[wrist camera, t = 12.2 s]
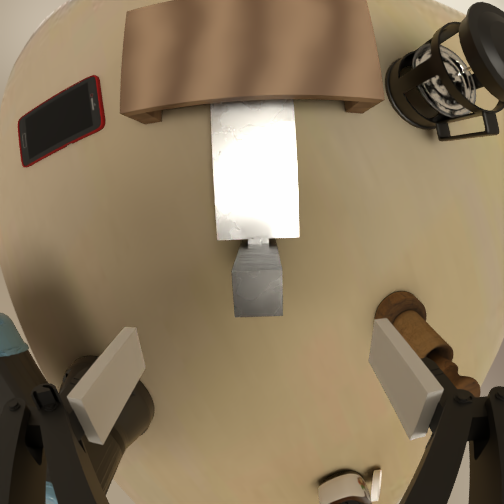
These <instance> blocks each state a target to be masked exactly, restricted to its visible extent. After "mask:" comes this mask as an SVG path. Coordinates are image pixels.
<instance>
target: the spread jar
mask: <svg viewBox="0 0 504 504" xmlns="http://www.w3.org/2000/svg"><path fill="white" fill-rule="evenodd" d="M380 488H381V470H374V473H373V479H372V489H371V498H370V494H369V491H368V488H367V485H366V483H365V481H364V479H363V478H362V476H361V475H360V474H359V473H357V472H354V471H344V472H339V473H336V474H334V475H332V476H330V477H328V478H327V479H326V480H324V481H323V482H322V483H321V484H320V485H319V487H318V496H319V503H320V504H372V502H371V501H378V500H379V496H380Z"/></svg>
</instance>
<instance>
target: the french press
mask: <svg viewBox="0 0 504 504" xmlns="http://www.w3.org/2000/svg"><path fill="white" fill-rule="evenodd" d="M443 29H444V30H443ZM458 32H459V38H460V43H461V47H462V50H463V53H464V55H465V57H466V60H467V62H468V63H469V65H470V67H468V68H467V66H466V65H465V63H464V62H463V61H462V60H461V59H460V58H459V56H458V55H456V54H455V53H454V52H453V51H451V50H450V49H448V48H446V47H444V46H442V45H440V44H441V43H443V42H444V41H446V40H447V39H449V38H450V37H452V36H453V35H455V34H456V33H458ZM408 66H412V70H410V71H409V72H407V73H406V74H404V75H403V76H401V77H400V71H401V70H402V69H403V68H405V67H408ZM471 70H472V71H473V72H474V74H471V73H470V71H471ZM385 82H386V91H387V95H388V98H389V100H390V102H391V104H392V106H393V108H394V109H395V110H396V112H397V113H398V114H399V115H400V116H401V117H402V118H403V119H404V120H405V121H407V122H408V123H409V124H411V125H413V126H415V127H417V128H421V129H435V128H436V130H437V134H438V139H439V141H453V140H460V139H467V138H475V137H483V136H492V135H497V134H499V127H498V122H497V118H496V114H495V113H497V112H499V111H501V110H502V109H503V108H504V12H503V11H501V10H500V9H499V8H497V7H495V6H493V5H491V4H488V3H484V2H477V3H475V4H473V5H472V6H471V7H470V8H469V9H468V12H467V16H466V17H465V19H464V20H463V21H462V22H461V23H460V22H451V23H447V24H446V25H444V26H443V27H441V28H440V29H439V30H437V31H436V33H435V34H434V35H433V38H431V39H430V40H429V41H427V42H426V43H425V44H423V45H422V46H421V47H419V48H418V49H417V50H415V51H413V52H410V53H408V54H407V55H405V56H404V57H403V58H400V59H398V60H396V61H395V62H393V63H392V65H391V66H390V67H389V69H388V71H387V74H386V79H385ZM415 87H417V89H418V91H419V92H420V94H421V95H422V97H423V98H424V99H425V101H426V102H427V103H428V104H429V105H430V106H431V107H432V108H434V109H435V110H436V111H438V112H439V114H438V115H437V116H436V117H434V118H430V119H428V118H425V117H424V116H422V115H421V114H420V113H418V112H417V110H416V109H415V108H414V107H413V106H412V105H411V104H410V102H409V101H408V99H407V97H406V96H405V94H404V93H406V92H407V91H409V90H411V89H413V88H415ZM481 87H485V88H486V89H487V90H488V91H489V92H490V93H491V94H492V95H493V96H495V97H496V98H497V99H499V102H498V104H497V106H496V107H495V108H494V109H493V110H492V111H488V110H484V109H482V108H479V107H478V106H476V105H475V101H476V89H478V88H481ZM470 112H473V113H470ZM469 113H470V114H469ZM478 116H483V120H484V125H485V131H483V132H476V133H470V134H463V135H457V136H450V131H449V126H448V123H451V122H456V121H460V120H464V119H469V118H473V117H478Z"/></svg>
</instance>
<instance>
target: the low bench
mask: <svg viewBox="0 0 504 504" xmlns="http://www.w3.org/2000/svg"><path fill="white" fill-rule="evenodd" d="M271 99H321V100H344V101H345V111H346V112H351V113H364V112H365V111H367V110H369V109H370V108H372V107H374V106H375V105H377V104H378V103H380V102H382V101H383V100H385V99H384V91H383V83H382V76H381V69H380V63H379V57H378V51H377V46H376V41H375V36H374V31H373V26H372V22H371V17H370V13H369V9H368V5H367V1H366V0H172V1H167V2H163V3H158V4H154V5H150V6H146V7H142V8H138V9H134V10H131V11H127V14H126V23H125V32H124V42H123V54H122V69H121V91H120V114H122V115H125V116H127V117H129V118H132V119H134V120H137V121H139V122H141V123H144V124H149V123H155V122H162V110H164V109H171V108H178V107H185V106H193V105H201V104H210V103H221V102H233V101H248V100H271Z"/></svg>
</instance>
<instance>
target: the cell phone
mask: <svg viewBox="0 0 504 504" xmlns="http://www.w3.org/2000/svg"><path fill="white" fill-rule="evenodd" d="M79 82H80V83H79ZM79 82H78V84H77V83H76V84H74V85H72V86H70V87H68V88H69V89H68V88H67V89H65V90H63V91H61V92H60V93H58V94H56V95H55V96H53V97H51V98H50V99H48V100H46V101H45V102H43V103H42V104H40V105H39V106H37V107H35V108H34V109H32V110H31V111H29V112H28V113H26V114H25V115H24V116H22V117H21V118H20V119H19V121H18V136H19V146H20V154H21V162H22V165H23V167H29V166H31V165H33V164H35V163H37V162H38V161H40V160H42V159H44V158H46V157H48V156H49V155H51V154H53V153H55V152H57V151H59V150H61V149H63V148H65V147H67V145H69V144H71V143H75V142H77V141H79V140H81V139H83V138H85V137H87V136H89V135H92V134H94V133H96V132H98V131H100V130H101V129H103V128H104V126H105V115H104V108H103V101H102V94H101V86H100V80H99V77H97V76H96V75H92V76H90V77H87V78H85V79H83V80H81V81H79Z"/></svg>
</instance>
